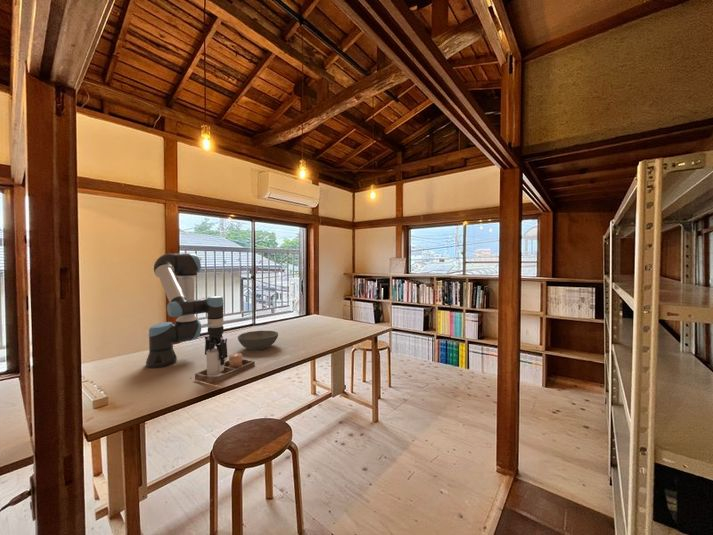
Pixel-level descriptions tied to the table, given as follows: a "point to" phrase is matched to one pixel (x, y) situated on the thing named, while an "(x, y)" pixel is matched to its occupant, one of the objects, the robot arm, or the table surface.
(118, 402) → the table surface
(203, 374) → the divided wooden tray
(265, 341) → the bowl
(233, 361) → the brown egg
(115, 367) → the table surface
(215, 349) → the mug
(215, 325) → the robot arm
